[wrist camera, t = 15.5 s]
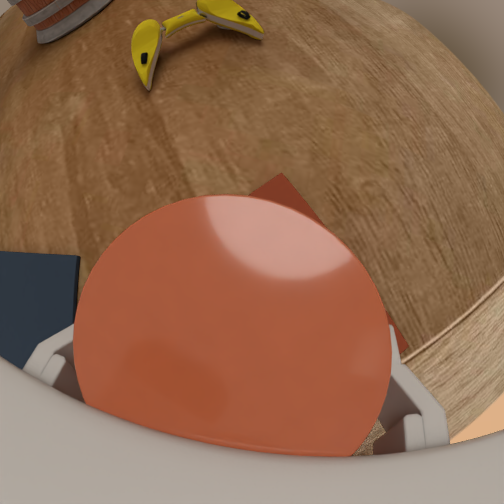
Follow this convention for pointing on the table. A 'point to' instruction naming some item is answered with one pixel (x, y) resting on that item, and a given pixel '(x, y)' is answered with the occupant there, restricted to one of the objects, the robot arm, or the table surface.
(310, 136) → the table surface
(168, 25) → the game controller
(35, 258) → the slate mat
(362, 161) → the table surface
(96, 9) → the mug
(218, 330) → the orange cylinder block
